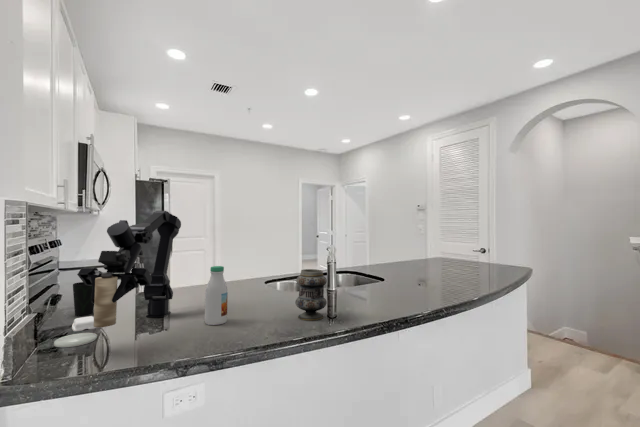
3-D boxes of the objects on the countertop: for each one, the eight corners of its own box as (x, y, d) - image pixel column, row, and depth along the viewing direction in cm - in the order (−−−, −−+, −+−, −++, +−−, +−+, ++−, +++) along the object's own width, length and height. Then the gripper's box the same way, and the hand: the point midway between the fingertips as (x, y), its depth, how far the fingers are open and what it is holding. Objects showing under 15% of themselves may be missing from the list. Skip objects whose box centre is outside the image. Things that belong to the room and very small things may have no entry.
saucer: (104, 335, 99) (104, 332, 99) (79, 347, 89) (79, 344, 89) (72, 335, 99) (72, 332, 99) (44, 347, 89) (44, 344, 89)
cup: (82, 317, 117) (84, 285, 118) (66, 316, 119) (67, 284, 119) (101, 312, 125) (102, 281, 125) (85, 311, 126) (86, 281, 127)
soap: (71, 326, 108) (71, 317, 109) (95, 322, 113) (95, 314, 113) (73, 333, 102) (73, 324, 102) (98, 328, 106) (98, 320, 106)
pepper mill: (120, 321, 91) (121, 272, 91) (107, 327, 85) (109, 274, 86) (102, 321, 91) (104, 271, 91) (88, 327, 85) (90, 274, 86)
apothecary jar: (332, 317, 121) (333, 270, 122) (311, 324, 112) (311, 273, 113) (310, 311, 130) (311, 267, 130) (288, 317, 121) (289, 270, 122)
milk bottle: (214, 327, 108) (215, 268, 109) (199, 323, 112) (201, 266, 113) (231, 321, 114) (232, 266, 115) (217, 318, 119) (218, 264, 119)
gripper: (83, 240, 92) (51, 285, 81) (148, 240, 93) (126, 284, 82) (99, 263, 100) (72, 307, 88) (159, 263, 101) (141, 307, 90)
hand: (102, 301), depth 87 cm, fingers closed on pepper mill, 5 cm apart
